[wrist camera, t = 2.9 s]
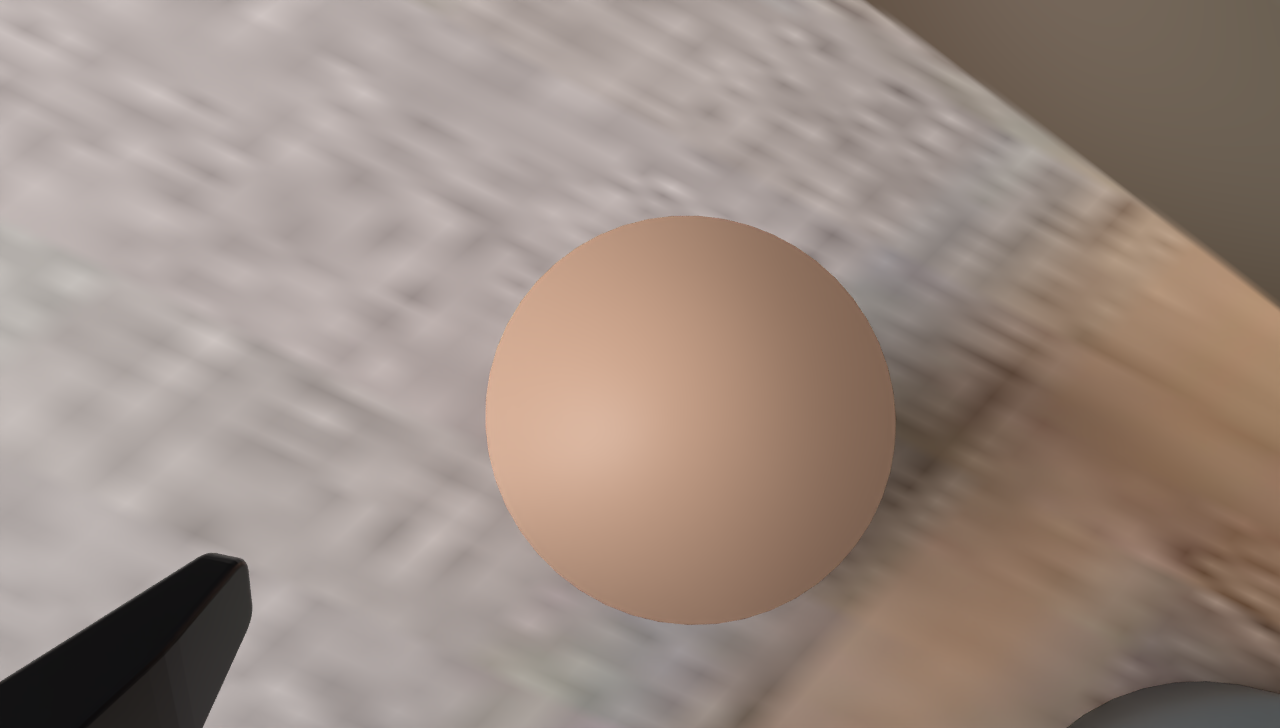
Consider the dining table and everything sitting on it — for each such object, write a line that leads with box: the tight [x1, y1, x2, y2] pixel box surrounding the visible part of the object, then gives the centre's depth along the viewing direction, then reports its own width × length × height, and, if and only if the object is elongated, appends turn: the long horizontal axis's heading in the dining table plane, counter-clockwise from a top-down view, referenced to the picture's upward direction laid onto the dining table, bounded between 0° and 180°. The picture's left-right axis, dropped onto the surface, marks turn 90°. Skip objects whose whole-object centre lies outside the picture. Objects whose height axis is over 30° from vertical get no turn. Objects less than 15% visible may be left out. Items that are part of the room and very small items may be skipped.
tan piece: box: [486, 216, 896, 625], centre depth 15 cm, size 5×5×10 cm
